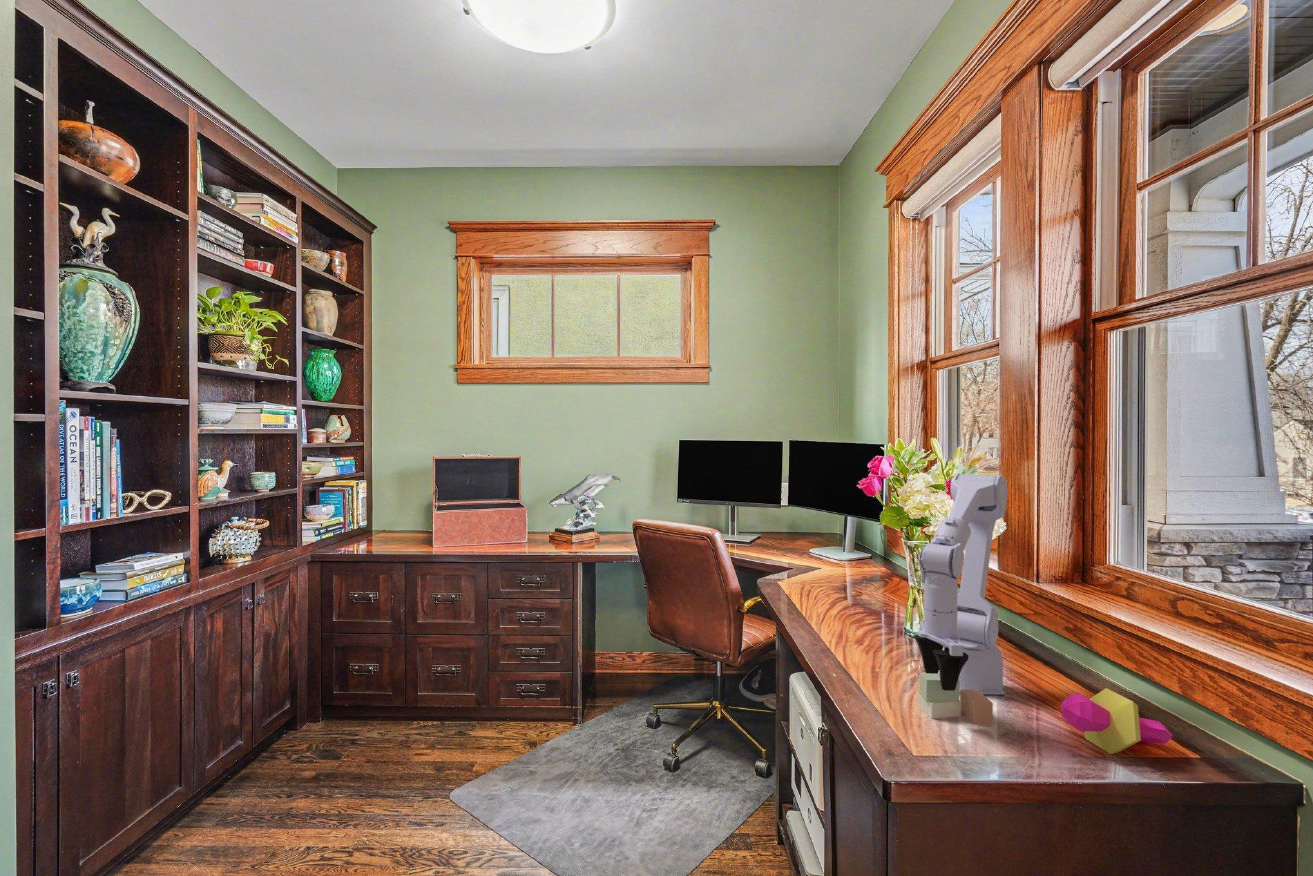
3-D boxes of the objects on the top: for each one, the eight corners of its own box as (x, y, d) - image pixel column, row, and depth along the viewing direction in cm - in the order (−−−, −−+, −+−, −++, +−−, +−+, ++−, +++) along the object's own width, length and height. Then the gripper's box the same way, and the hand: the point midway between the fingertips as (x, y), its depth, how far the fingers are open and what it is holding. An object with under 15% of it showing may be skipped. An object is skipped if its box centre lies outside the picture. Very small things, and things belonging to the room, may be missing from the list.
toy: (1192, 772, 101) (1184, 702, 105) (1089, 742, 99) (1086, 673, 104) (1136, 767, 110) (1131, 703, 114) (1041, 739, 108) (1040, 676, 113)
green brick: (951, 695, 121) (952, 673, 121) (959, 702, 118) (959, 680, 118) (919, 694, 121) (919, 673, 121) (926, 701, 118) (926, 679, 118)
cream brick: (947, 708, 122) (947, 692, 122) (960, 717, 118) (961, 701, 118) (918, 710, 121) (918, 694, 121) (931, 720, 117) (931, 703, 117)
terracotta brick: (959, 710, 121) (960, 689, 121) (977, 711, 121) (977, 689, 121) (974, 725, 115) (974, 702, 115) (992, 725, 115) (992, 703, 115)
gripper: (904, 598, 127) (904, 667, 127) (934, 619, 112) (933, 697, 112) (940, 599, 127) (940, 667, 127) (975, 620, 112) (974, 697, 112)
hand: (939, 681), depth 120 cm, fingers open, 7 cm apart
